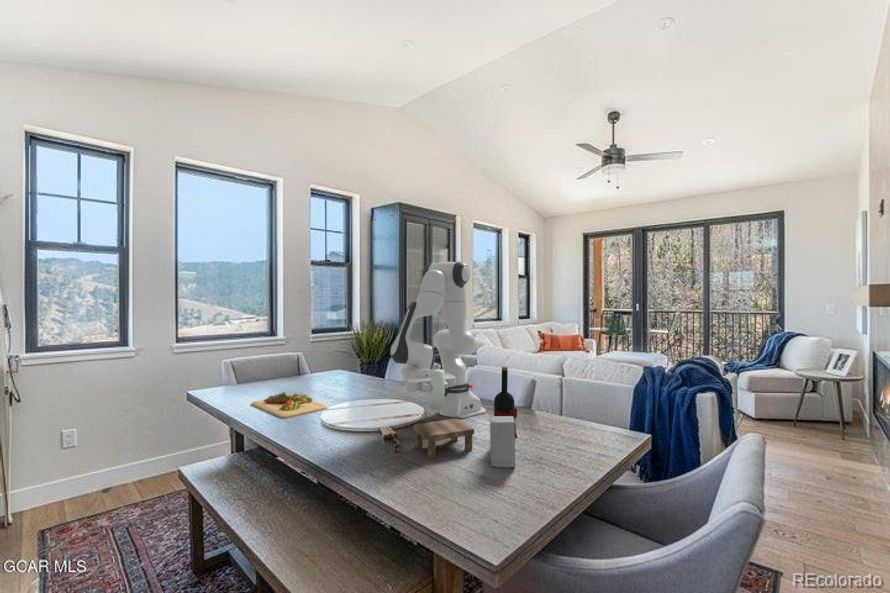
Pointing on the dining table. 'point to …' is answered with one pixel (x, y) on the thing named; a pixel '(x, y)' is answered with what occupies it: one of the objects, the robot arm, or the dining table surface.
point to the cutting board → (289, 405)
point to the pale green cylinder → (437, 389)
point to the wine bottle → (505, 400)
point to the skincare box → (502, 441)
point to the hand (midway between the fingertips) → (438, 387)
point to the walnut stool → (442, 433)
